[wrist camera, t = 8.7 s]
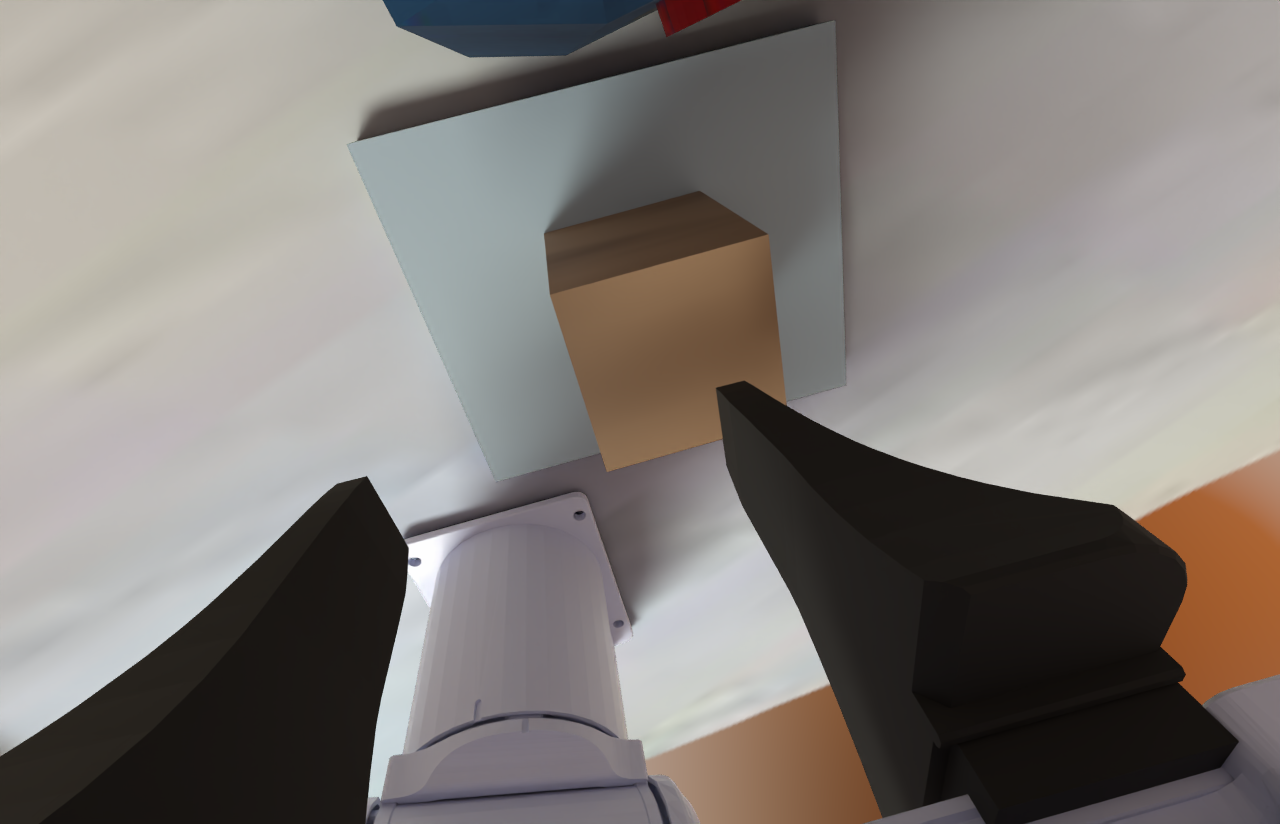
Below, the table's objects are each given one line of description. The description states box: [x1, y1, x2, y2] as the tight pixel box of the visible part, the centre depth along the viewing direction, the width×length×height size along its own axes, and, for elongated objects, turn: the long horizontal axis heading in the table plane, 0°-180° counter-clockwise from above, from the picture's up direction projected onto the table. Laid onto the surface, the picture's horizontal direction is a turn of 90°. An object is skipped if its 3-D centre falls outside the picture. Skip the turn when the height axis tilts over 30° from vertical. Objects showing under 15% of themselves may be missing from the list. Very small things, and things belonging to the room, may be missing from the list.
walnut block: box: [544, 191, 787, 472], centre depth 16 cm, size 5×5×6 cm
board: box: [347, 20, 846, 482], centre depth 19 cm, size 12×14×1 cm
